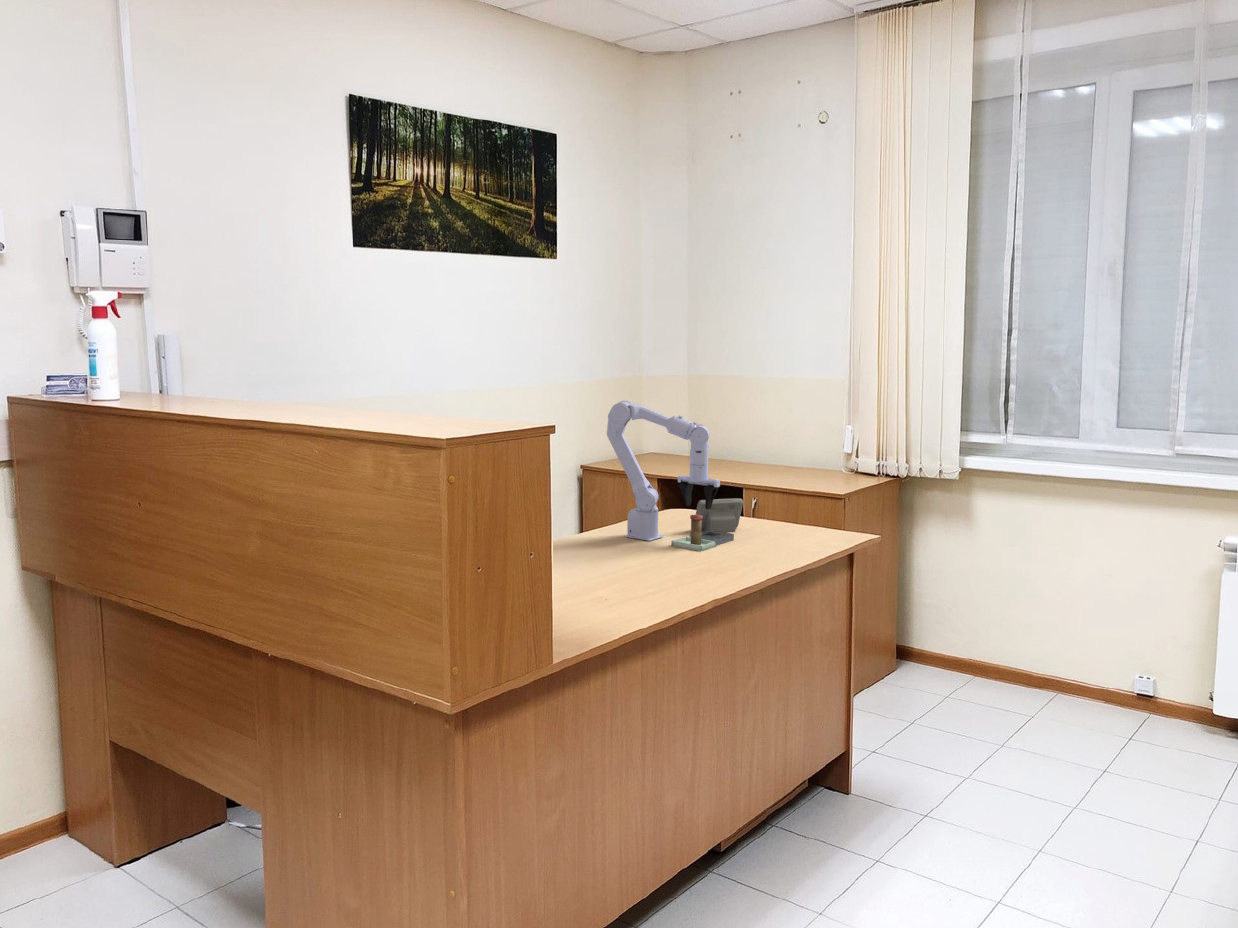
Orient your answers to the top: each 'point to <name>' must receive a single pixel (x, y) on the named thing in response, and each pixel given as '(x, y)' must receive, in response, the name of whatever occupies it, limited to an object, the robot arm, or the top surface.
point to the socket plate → (716, 536)
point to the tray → (686, 543)
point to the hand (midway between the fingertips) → (698, 507)
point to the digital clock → (720, 514)
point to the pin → (696, 529)
